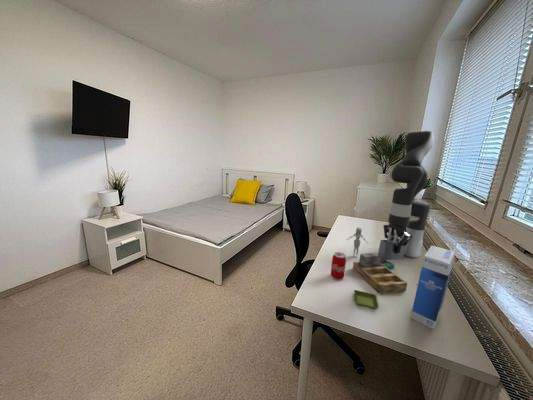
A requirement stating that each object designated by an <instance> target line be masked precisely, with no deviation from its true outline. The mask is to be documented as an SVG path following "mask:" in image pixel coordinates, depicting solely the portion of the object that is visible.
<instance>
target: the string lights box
mask: <svg viewBox="0 0 533 400" xmlns="http://www.w3.org/2000/svg"><path fill="white" fill-rule="evenodd" d="M455 255H456V251H454V250H450V249H446V248H443V247H439V246H435V245H431V246H430V248H428V250H427V251H426V252H425V254H424V256H423V261H422V266H421V270H420V273H419V278H418V282H417V286H416V292H415V297H414V300H413V305H412V309H411V313H410V319H412V320H414V321H415V322H418V323H419V324H421V325H424V326H426V327H428V328H430V329H432V330H435V327H436V325H437V322H438V320H439V318H440V315H441V312H442V310H443V309H442V308H443V304H444V301H445V297H446V292H447V289H448V284H449V280H450V278H451V274H452V273H451V272H452V268H453V265H454V261H455Z"/></svg>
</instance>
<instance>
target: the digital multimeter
mask: <svg viewBox="0 0 533 400" xmlns="http://www.w3.org/2000/svg"><path fill="white" fill-rule="evenodd" d="M381 263H382V264H383V265H384V266H386V267H387V268H388V269H390V270H391V271H392V270H394V269H395V264H394V263H391V262H390V261H389V260H382V261H381Z"/></svg>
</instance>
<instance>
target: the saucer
mask: <svg viewBox="0 0 533 400" xmlns="http://www.w3.org/2000/svg"><path fill="white" fill-rule="evenodd" d="M353 293H354V294H353V295H354V296H353V297H354V303H355V305H356V306H360V307H364V308H367V309H371V310H377V309H379V308H380V307H379V303H378V299H377V295H376V294H375V293H372V292H366V291H361V290H358V289H354V290H353Z"/></svg>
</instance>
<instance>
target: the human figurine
mask: <svg viewBox="0 0 533 400" xmlns="http://www.w3.org/2000/svg"><path fill="white" fill-rule="evenodd" d="M362 230H363V229H362V228H361V227H356V231H355V233H354V234H353V235H352V236H350V237H349V238H347V239H346V241H348V240H350V239H352V238H354V237H355V239H354V240H353V247H354V248H353V256H352V257H353V259H358V255H359V248H360V245H361V240H360V239H361V238H362V239H363V241H365V242H366V244H369V242H368V241H367V240H366V238H364V237H363V234H362ZM355 254H356V255H355Z"/></svg>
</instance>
